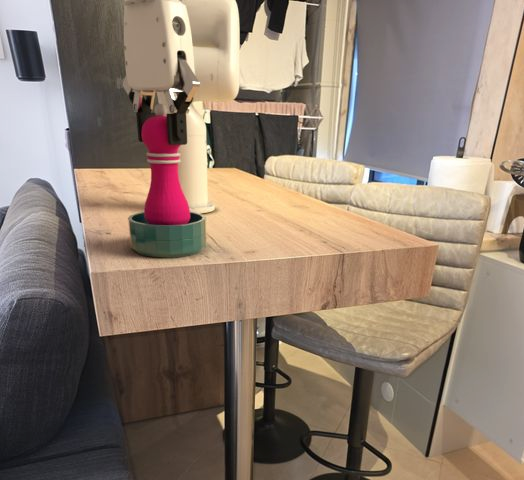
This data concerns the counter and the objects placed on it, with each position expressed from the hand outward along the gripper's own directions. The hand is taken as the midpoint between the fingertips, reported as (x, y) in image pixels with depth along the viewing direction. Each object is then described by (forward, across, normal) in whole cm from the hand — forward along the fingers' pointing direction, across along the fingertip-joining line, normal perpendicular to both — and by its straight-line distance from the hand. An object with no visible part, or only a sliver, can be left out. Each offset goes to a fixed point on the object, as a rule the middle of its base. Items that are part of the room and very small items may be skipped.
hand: (162, 141), depth 68 cm
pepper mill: (+15, 0, 0) cm, 15 cm away
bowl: (+16, 0, 0) cm, 16 cm away
